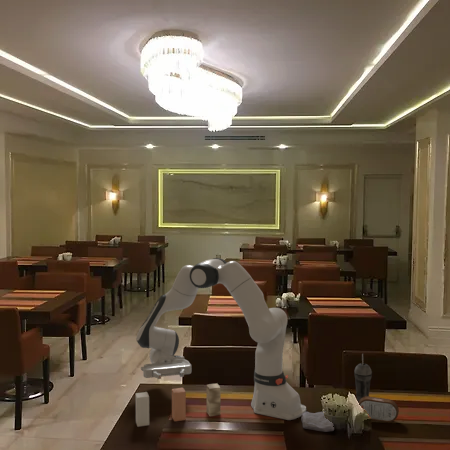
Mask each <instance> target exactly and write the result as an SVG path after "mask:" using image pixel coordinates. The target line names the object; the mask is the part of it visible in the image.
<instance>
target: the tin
mask: <svg viewBox="0 0 450 450" xmlns="http://www.w3.org/2000/svg"><path fill="white" fill-rule="evenodd" d="M357 402H358V403H359V405H360V406H361V407H362V408H363V409H365V410H366V411H367V413H368V414H369V416H370V417H371V419H372V421H378V422H385V423H392V422H394V421H395V420H396V419H397V418H398V416H399V412H400V411H399V410H400V409H399V407H398V404H397V403H396V402H395V401H394V400H392V399H390V398H382V397H375V396H371V395H369V396H366V397H363V398H361V399H360V400H359V401H357ZM358 403H357V404H358Z"/></svg>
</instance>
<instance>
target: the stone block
mask: <svg viewBox="0 0 450 450" xmlns="http://www.w3.org/2000/svg"><path fill="white" fill-rule="evenodd" d="M323 412H324V411H318V412H315V413H314V412H309V411H306V412H304V413H303V414H302V416H300V417H301V419H300V421H301V423H302V428H303V429H306V430H313V431H318V432H325V433H326V432H334V430H335V426H334V422H333V423H332V422H330V421H329V420H328V419H326V418H325V416H324V413H323ZM333 426H334V427H333Z"/></svg>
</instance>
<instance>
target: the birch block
mask: <svg viewBox="0 0 450 450" xmlns="http://www.w3.org/2000/svg"><path fill="white" fill-rule="evenodd" d="M221 390H222V389H221V387H220V385H219V384H218V382H217V383H209V384H206V413H207V415H208V416H209V417H215V416H221V394H222V393H221Z"/></svg>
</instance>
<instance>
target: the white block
mask: <svg viewBox="0 0 450 450" xmlns="http://www.w3.org/2000/svg"><path fill="white" fill-rule="evenodd" d="M135 424H136V426H137V427H138V428H139V427H145V426H150V396H149V393H148V392H147V391H145V392H144V391H143V392H136V393H135Z"/></svg>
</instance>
